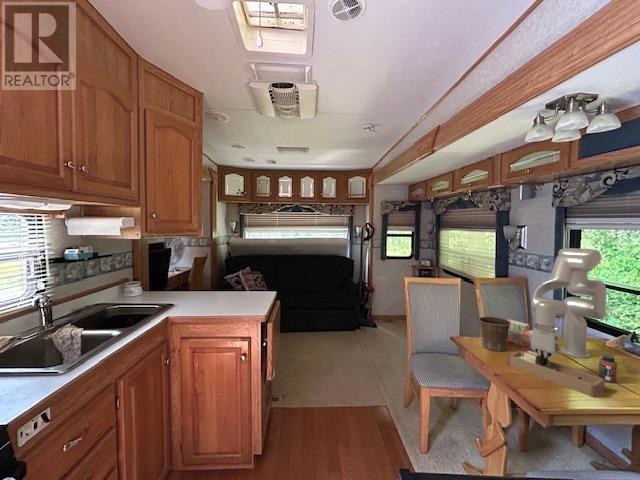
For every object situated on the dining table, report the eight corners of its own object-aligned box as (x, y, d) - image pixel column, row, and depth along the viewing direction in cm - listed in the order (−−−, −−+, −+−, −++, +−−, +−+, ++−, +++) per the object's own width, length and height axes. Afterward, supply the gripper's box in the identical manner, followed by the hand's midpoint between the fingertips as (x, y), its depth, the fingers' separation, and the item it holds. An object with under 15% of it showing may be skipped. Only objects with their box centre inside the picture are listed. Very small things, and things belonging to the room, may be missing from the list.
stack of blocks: (546, 350, 173) (547, 329, 172) (540, 352, 170) (541, 331, 169) (509, 337, 192) (509, 318, 191) (502, 339, 189) (503, 320, 188)
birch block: (528, 360, 153) (529, 350, 153) (540, 364, 149) (540, 354, 149) (523, 362, 151) (524, 353, 150) (535, 366, 146) (535, 356, 146)
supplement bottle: (612, 384, 136) (613, 360, 135) (595, 378, 141) (596, 354, 140) (619, 381, 138) (620, 357, 137) (602, 375, 143) (603, 352, 143)
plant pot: (472, 342, 184) (472, 316, 183) (496, 341, 186) (497, 315, 185) (490, 354, 168) (490, 325, 167) (516, 352, 170) (517, 324, 169)
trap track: (519, 359, 161) (519, 350, 160) (604, 390, 131) (604, 379, 131) (507, 364, 155) (508, 355, 155) (594, 397, 125) (594, 386, 125)
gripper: (567, 330, 140) (565, 368, 141) (531, 321, 153) (529, 356, 154) (560, 333, 136) (558, 372, 137) (523, 324, 149) (522, 360, 150)
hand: (543, 364), depth 146 cm, fingers closed
